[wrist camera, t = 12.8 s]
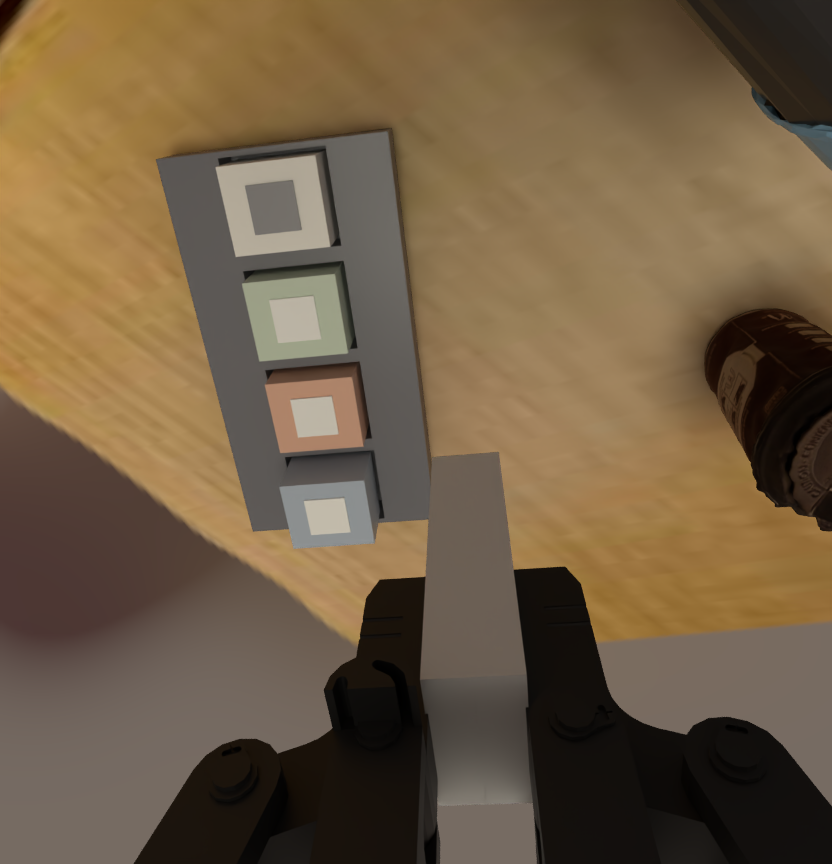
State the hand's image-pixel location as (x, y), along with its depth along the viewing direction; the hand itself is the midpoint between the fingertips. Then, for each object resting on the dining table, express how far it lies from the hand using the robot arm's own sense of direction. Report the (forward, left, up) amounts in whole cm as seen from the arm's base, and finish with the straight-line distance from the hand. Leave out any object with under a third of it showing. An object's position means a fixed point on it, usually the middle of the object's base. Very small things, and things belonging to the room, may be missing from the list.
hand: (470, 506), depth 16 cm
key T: (+7, -9, -26) cm, 28 cm away
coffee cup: (+8, +17, -27) cm, 33 cm away
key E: (-4, -9, -26) cm, 28 cm away
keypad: (+4, -9, -26) cm, 28 cm away
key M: (+13, -9, -24) cm, 29 cm away
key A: (+2, -9, -26) cm, 27 cm away
